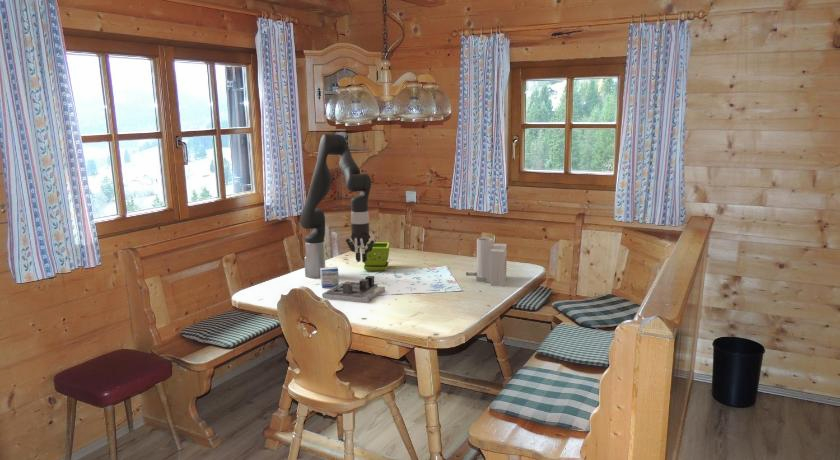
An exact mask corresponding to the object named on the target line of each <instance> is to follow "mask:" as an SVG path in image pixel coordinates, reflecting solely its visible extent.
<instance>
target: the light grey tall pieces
mask: <svg viewBox="0 0 840 460" xmlns="http://www.w3.org/2000/svg"><path fill="white" fill-rule="evenodd" d="M507 245H508V244H507V243H494V239H493V238H491V237H479V238H478V237H477V238H476V271H475V272H465V275H466V277H467V276H469V277H472V276H473V277H475V279H476V281H477V282H486V283H488V284H490V286H494V287H497V286H498V287H505V283H506V279H507V256H508V255H507V254H508V253H507V248H508V247H507Z"/></svg>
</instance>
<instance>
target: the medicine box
mask: <svg viewBox="0 0 840 460" xmlns="http://www.w3.org/2000/svg"><path fill="white" fill-rule="evenodd" d="M338 268H339V267H338V266H331V267H330V266H329V267H325V268H320V275H321V277H320V286H321V288H323V289H325V288H333V287H335V286H337V285H338V284H340V283H339V269H338Z"/></svg>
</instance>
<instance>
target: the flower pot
mask: <svg viewBox="0 0 840 460" xmlns="http://www.w3.org/2000/svg"><path fill="white" fill-rule="evenodd" d="M390 245H391V242H386V241H385V242H381V241H379V242H377V241H376V242H375V244H374V246H373V248H372V250H371V251H370V252H368V253H367V260H366V262H363V263H364V265H363V269H364V271H368V272H373V271H375V272H385V271H386V270H387V269H388V266H389V263H390V262H389V261H388V259H389V254H390V248H391V247H390ZM368 246H369V241H368V242H367V248H368ZM360 253H361V255H362V254H363V253H362V248H361V247H360Z"/></svg>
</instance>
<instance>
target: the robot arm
mask: <svg viewBox="0 0 840 460" xmlns="http://www.w3.org/2000/svg"><path fill="white" fill-rule="evenodd" d="M346 139H347V138H345V137H344V135H342V134H336V133H335V134H334V133H324V134H322V135H321V137H320V139H319V146H318V150H317V156H316V157H317V158H316V161H315V162H316V163H315V167H314V169H313V172H312V173H313V174H312V177H311V181H310V185H309V190H308V193H307V197H306V200H305V202H304V205H303V207H302V210H301V212H300V217H299V218H300V221H299V222H300V226H301V227H302V228H303V229H304V230H310V229H313V230H311V232H310V233H308V234H307V235H306V236H305V237H304V242H305V243H304V244H305V246H304V248H305V257H304V259H303V261H304V275H305V277H307V278H311V279H316V278H318V279H319V278H321V275H320V268H326V251H325V249H326V248H325V237H326V217H325V212H324V211H323V209H321V208H317V206H318V205H319V204H320V203H321V202H323V200H324V199H325V197H326V196H328V195H329V192H330V189H331V186H332V183H333V176H332V173H331V171H330V169H329V167H328V164H327V163H328V162H327V160H328V156H341V157H340V160H339V163H338V164H339V165H338V166H339V170H340V171H341V173H342V174H343V176H344V179H345V186H346V189H347V190H348V191H349V192H359V194H358V195H357V196H354V197H351V199H350V211H351V213H350V224H351V225H350V232H351V235H350V237H348V238H346V239H345V242H346V244H347V246H348V247H349V249H350V251H351V252H353V253H354V254H355V260H356V262H357V263H360V262H361V263H364V262H366V260H367V253H368V252H370V251H371V250H372V248H373V246H374V244H375V242H377V240H376V239H373V238H371V235H370V215H369V197H370V196H369V195H370V191H371V187H372V178H371V176H370V175H369V174H367V173H361V170H360V168H359V166H358V164H357V163H356V161H355V160H354V158H353V156H352V153H351V149H350V147H349V144H348V142H347V140H346ZM367 242H369V246H368V248H367ZM361 248H362V252H361ZM362 253H363V254H362ZM361 260H362V261H361Z"/></svg>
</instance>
